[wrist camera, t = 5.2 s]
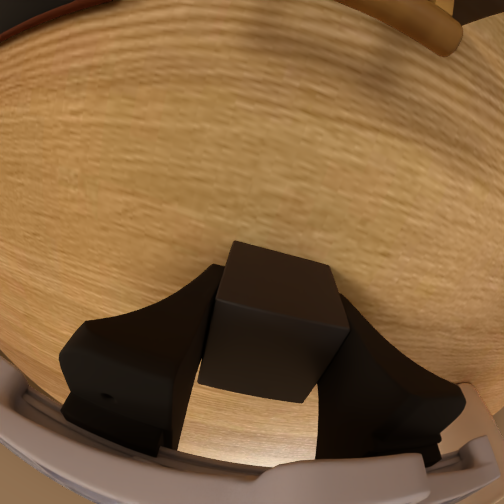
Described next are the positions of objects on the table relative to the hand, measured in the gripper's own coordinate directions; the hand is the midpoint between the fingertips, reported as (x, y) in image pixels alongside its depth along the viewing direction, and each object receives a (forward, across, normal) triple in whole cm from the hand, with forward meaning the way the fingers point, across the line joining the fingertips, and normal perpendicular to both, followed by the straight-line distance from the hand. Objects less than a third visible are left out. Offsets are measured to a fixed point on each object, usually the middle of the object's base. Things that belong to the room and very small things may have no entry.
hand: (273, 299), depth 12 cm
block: (+1, 0, +1) cm, 2 cm away
